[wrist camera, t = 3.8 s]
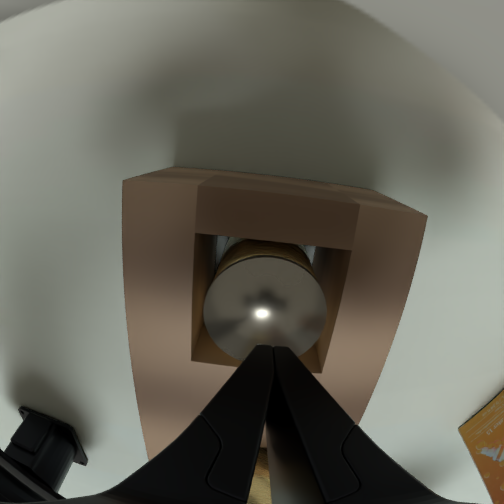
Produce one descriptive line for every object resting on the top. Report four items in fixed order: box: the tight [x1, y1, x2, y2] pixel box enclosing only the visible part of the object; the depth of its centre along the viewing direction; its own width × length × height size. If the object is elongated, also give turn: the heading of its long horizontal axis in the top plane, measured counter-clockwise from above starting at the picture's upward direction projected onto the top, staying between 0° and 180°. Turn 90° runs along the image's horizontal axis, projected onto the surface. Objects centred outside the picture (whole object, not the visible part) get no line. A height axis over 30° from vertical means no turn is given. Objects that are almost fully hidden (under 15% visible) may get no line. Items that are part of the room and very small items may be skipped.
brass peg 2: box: [247, 447, 272, 504], centre depth 13 cm, size 4×4×6 cm
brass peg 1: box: [203, 237, 327, 361], centre depth 13 cm, size 4×4×6 cm
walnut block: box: [122, 167, 428, 461], centre depth 15 cm, size 18×10×6 cm, turn 174°
